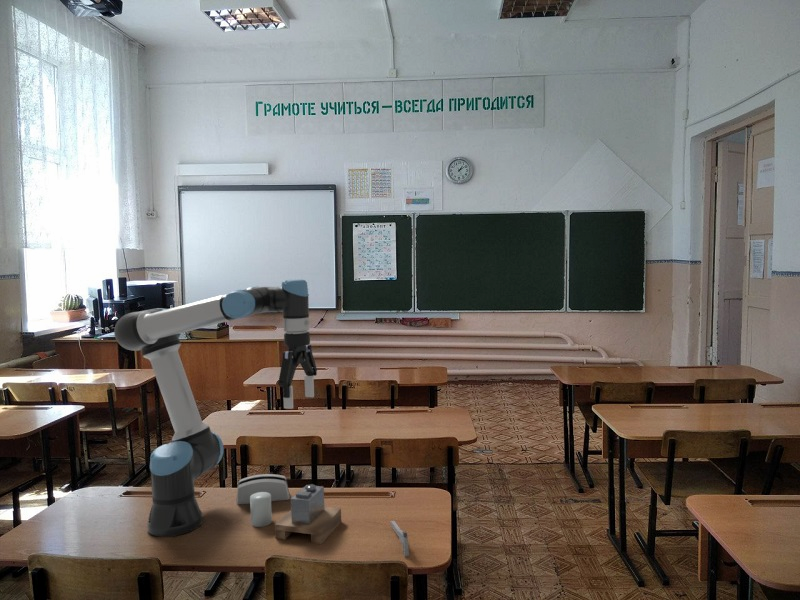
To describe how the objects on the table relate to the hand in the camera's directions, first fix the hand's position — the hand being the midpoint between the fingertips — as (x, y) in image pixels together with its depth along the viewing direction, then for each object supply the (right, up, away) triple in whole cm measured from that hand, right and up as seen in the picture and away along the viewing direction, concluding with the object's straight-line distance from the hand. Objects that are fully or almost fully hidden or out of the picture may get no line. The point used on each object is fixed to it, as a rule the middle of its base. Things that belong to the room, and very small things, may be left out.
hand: (299, 402), depth 178 cm
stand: (+4, -35, -7) cm, 36 cm away
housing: (+4, -31, -7) cm, 32 cm away
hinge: (-14, -34, +14) cm, 40 cm away
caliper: (+30, -36, -14) cm, 48 cm away
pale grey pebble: (-11, -35, -1) cm, 37 cm away
